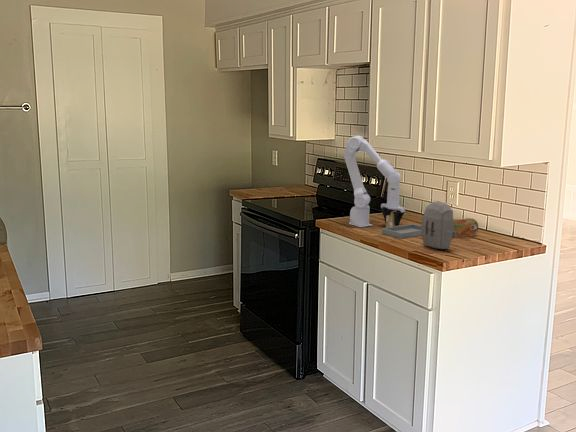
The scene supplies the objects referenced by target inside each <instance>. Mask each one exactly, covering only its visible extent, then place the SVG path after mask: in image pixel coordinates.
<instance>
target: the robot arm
mask: <svg viewBox="0 0 576 432" xmlns="http://www.w3.org/2000/svg"><path fill="white" fill-rule="evenodd" d="M345 144H346V145H345V149H344V152H343V158H344V161H345V164H346V167H347V170H348V174H349V177H350V182H351V185H352V188H353V196H354V199H353V201H354V206H352V207H351V209H350V212H349V222H348V225H350V226H351V225H352V226H355V227H359V228H366V227H372V226H373V224H371V223H370V205H369V204H370V202H371V196H370V195H369V194H368V192H367V189H366V188H365V186H364V182H363V179H362V176H361V173H360V169H359V167H358V163H357V160H356V157H355V156H356V155H357V153H358V152H359V151H360V152H364V153H366V154H367V156H369V158H370V159H371V160H373V162H375V164H376V168H377V170H378V171H379V172H380V173H381V174H382V176H384V178H386V182H387V184H388V185H387V197H386V203H381V204H380V209H381V211H380V212H381V213H382V216H383V219H384V223H385V224H386V216H387V215H394V219H395V226H400V223H401V220H402V218H403V216H404V214H405V212H406V208H405V207H403V206H401V205H400V193H401V192H400V191H401V190H400V189H401V188H400V185H401V179H402V175H401V174H400V172H399V171H397V169H396V168H394V167H393V165H391V164H390V163H391V162H390V160H387V159H382V157H380V155H379V154H378V152H377V151H376V150H375V149H374V148H373V146H371V144H370V143H369V142H368V141H367V140H366V139H365V138H364V137H363V136H362V135H359V134H358V135H354V136H351V137H349V138H348V140H347V142H346V143H345ZM392 211H393V212H392ZM391 213H393V214H391Z"/></svg>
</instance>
